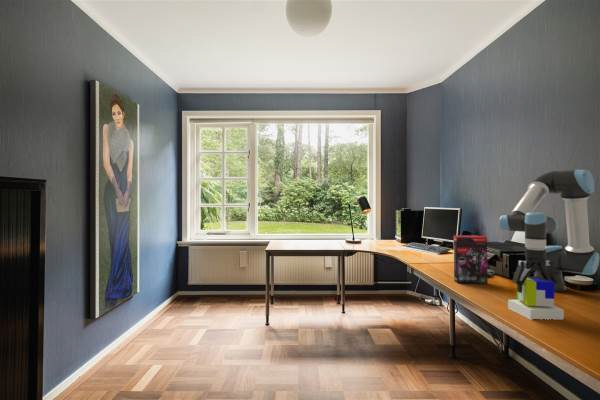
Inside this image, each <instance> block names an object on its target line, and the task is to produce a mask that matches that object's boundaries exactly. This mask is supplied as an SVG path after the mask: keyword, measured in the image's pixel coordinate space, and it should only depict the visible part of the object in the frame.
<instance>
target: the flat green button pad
mask: <svg viewBox="0 0 600 400" xmlns="http://www.w3.org/2000/svg"><path fill="white" fill-rule="evenodd" d="M492 270H493V269H488V268H487V273H488V274H487V275H488V277H492V276H493V275H494V274H495V273H494V271H495V270H493V271H492Z"/></svg>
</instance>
